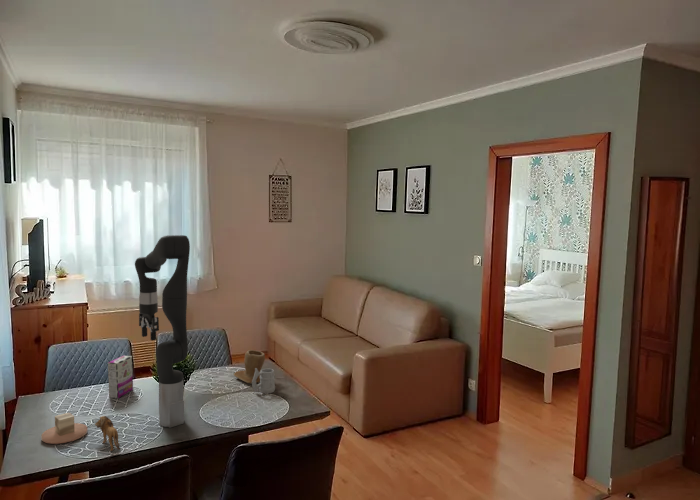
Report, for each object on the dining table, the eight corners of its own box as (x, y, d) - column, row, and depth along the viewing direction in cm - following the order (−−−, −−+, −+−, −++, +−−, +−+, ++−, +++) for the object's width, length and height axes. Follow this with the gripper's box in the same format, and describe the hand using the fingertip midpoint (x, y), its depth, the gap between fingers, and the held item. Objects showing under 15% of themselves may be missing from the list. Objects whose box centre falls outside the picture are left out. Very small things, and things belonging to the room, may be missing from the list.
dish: (93, 436, 188) (93, 432, 188) (48, 449, 177) (48, 445, 177) (79, 423, 198) (79, 419, 198) (36, 435, 187) (36, 431, 187)
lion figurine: (93, 440, 184) (93, 417, 184) (108, 435, 189) (107, 412, 188) (113, 453, 175) (112, 428, 174) (128, 448, 179) (127, 423, 179)
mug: (278, 391, 238) (278, 366, 237) (256, 396, 230) (256, 371, 229) (270, 386, 244) (270, 362, 242) (248, 391, 236) (248, 367, 235)
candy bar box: (123, 389, 236) (123, 355, 234) (133, 390, 235) (132, 355, 233) (107, 397, 225) (107, 362, 224) (117, 398, 224) (117, 363, 223)
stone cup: (269, 381, 250) (269, 352, 249) (247, 386, 242) (248, 356, 241) (253, 373, 262) (253, 345, 260) (232, 378, 254) (233, 349, 253)
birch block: (74, 431, 188) (74, 416, 187) (59, 436, 184) (59, 420, 183) (69, 427, 191) (69, 412, 190) (55, 431, 187) (54, 416, 187)
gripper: (164, 303, 217) (164, 340, 219) (149, 298, 227) (149, 333, 229) (147, 305, 212) (147, 343, 213) (132, 300, 222) (133, 336, 223)
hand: (148, 338), depth 221 cm, fingers open, 8 cm apart
